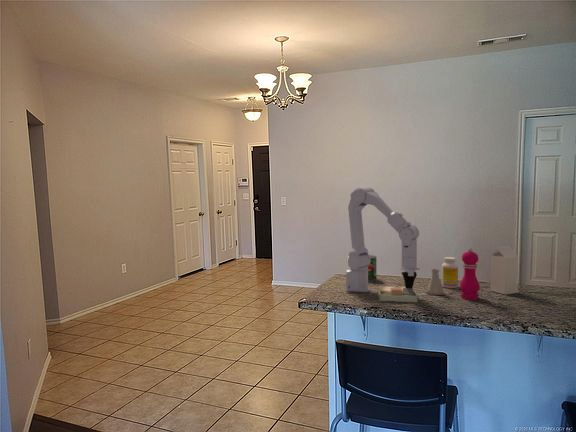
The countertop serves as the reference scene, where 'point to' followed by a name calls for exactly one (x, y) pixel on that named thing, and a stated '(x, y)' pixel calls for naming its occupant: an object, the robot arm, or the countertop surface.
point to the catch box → (399, 298)
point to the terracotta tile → (396, 291)
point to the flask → (435, 284)
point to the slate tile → (408, 291)
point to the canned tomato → (372, 268)
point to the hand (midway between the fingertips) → (408, 290)
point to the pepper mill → (469, 276)
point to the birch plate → (387, 290)
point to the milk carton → (504, 271)
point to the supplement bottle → (449, 273)
